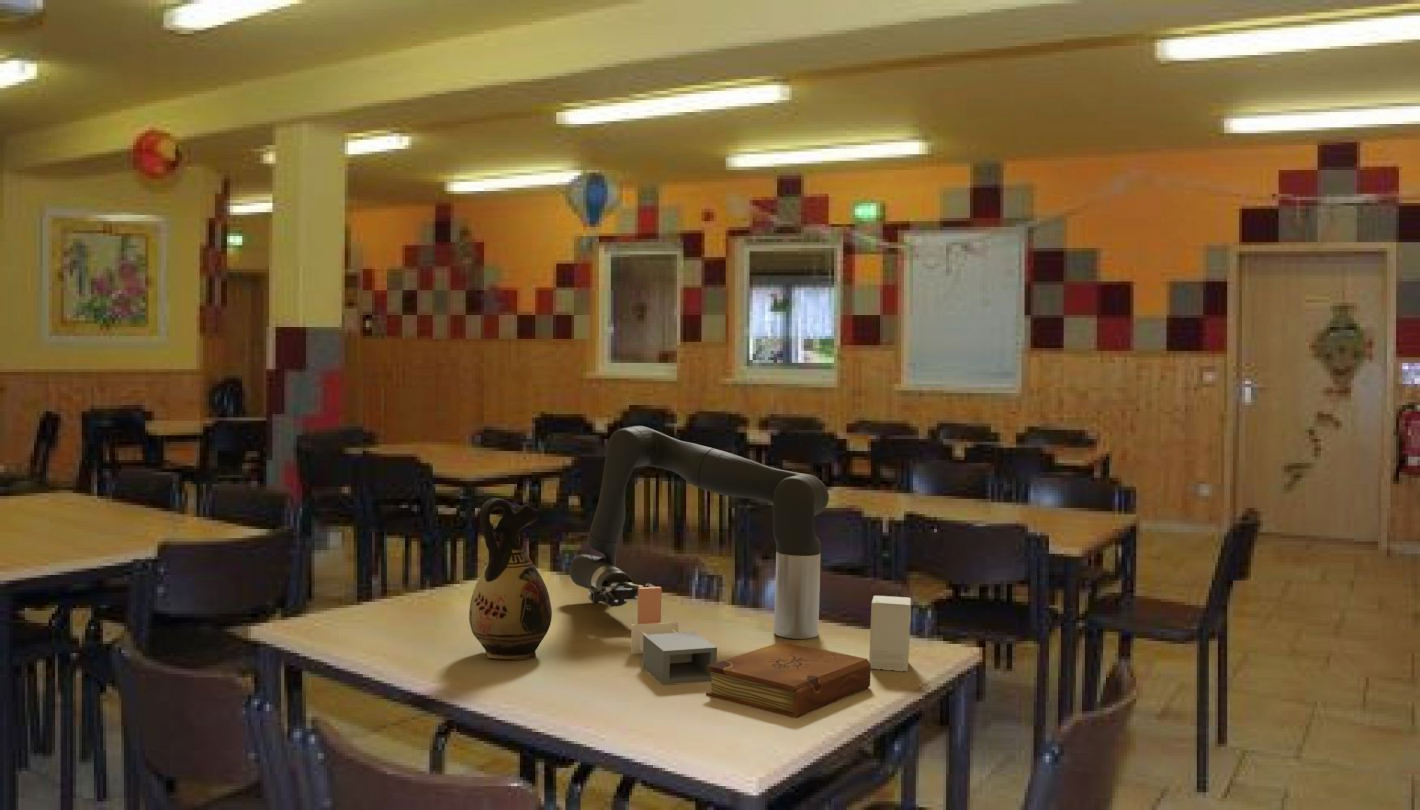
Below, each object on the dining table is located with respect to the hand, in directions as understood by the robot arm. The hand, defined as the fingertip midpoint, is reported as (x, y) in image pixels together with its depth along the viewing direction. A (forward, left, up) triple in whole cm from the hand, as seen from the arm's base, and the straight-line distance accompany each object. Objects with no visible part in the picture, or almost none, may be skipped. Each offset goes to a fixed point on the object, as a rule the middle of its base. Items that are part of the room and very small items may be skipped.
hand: (633, 600), depth 238 cm
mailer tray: (+13, +13, -7) cm, 20 cm away
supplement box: (-4, +53, -7) cm, 54 cm away
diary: (+21, +42, -8) cm, 48 cm away
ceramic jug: (+26, -13, -7) cm, 30 cm away
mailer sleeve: (+21, +21, -7) cm, 30 cm away
